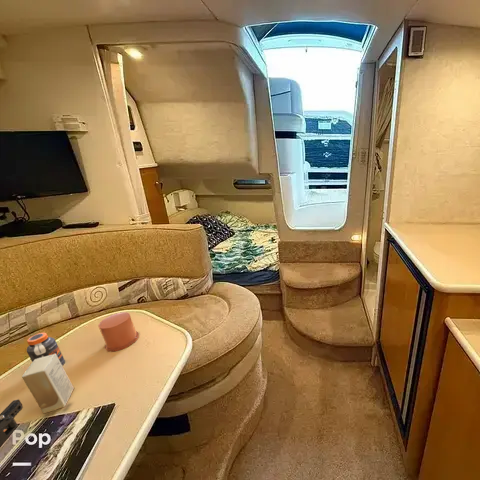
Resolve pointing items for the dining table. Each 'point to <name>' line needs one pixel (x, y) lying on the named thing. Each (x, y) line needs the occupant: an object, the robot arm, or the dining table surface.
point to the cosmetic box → (48, 383)
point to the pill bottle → (43, 347)
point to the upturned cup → (118, 331)
